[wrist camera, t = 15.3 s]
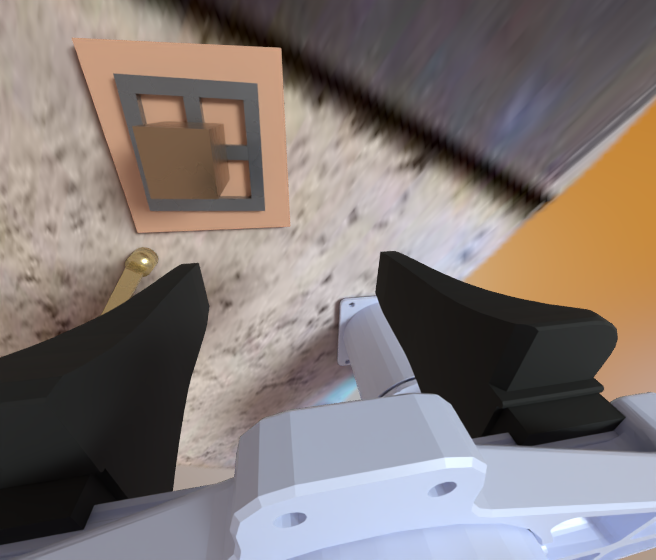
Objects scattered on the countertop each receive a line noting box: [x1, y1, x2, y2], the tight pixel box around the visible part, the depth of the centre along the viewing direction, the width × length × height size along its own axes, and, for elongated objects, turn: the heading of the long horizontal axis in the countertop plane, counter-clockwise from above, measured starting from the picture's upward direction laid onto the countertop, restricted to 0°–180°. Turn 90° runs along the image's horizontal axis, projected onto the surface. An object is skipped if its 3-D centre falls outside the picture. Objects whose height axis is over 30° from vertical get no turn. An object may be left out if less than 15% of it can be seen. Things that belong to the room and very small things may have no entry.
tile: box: [72, 38, 290, 233], centre depth 18 cm, size 10×10×1 cm
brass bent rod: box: [100, 247, 158, 316], centre depth 22 cm, size 6×12×2 cm, turn 179°
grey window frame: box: [113, 73, 265, 211], centre depth 15 cm, size 7×7×5 cm
